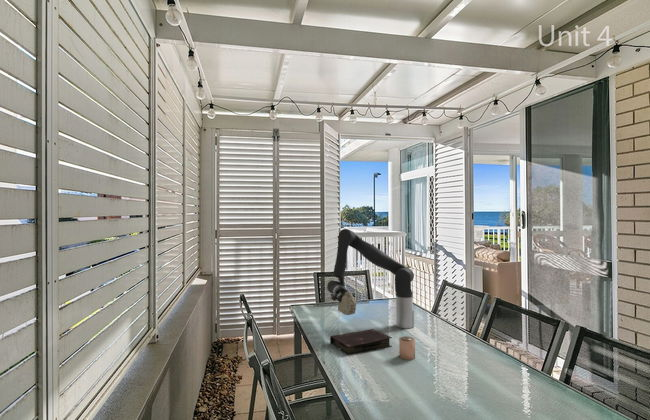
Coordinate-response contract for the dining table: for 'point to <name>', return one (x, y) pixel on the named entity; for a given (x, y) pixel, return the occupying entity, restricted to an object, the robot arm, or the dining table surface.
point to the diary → (360, 341)
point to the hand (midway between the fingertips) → (346, 300)
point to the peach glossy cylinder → (407, 348)
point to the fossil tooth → (347, 304)
